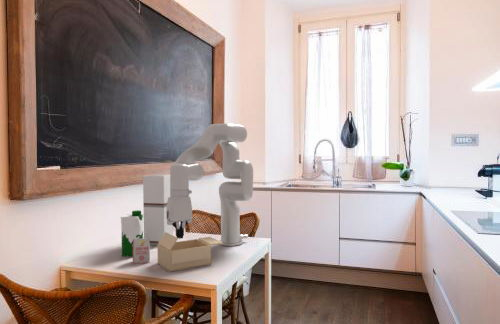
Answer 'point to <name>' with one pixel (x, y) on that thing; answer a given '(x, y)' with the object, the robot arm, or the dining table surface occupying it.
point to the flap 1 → (168, 241)
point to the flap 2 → (210, 241)
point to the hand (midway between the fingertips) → (179, 237)
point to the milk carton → (131, 231)
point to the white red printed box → (141, 250)
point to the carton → (184, 255)
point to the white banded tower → (156, 207)
